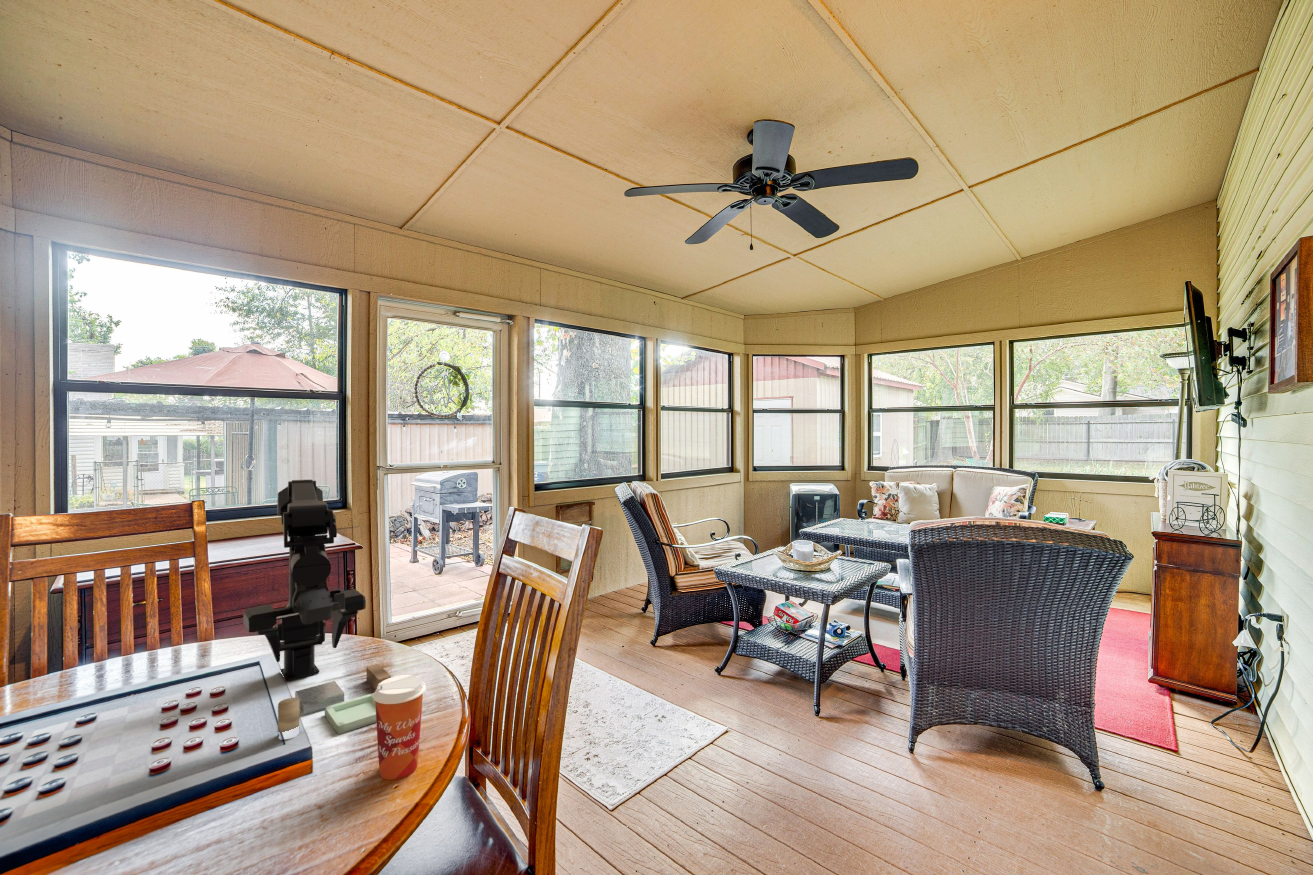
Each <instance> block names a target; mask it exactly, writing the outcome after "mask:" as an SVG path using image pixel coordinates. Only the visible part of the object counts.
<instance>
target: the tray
mask: <svg viewBox="0 0 1313 875" xmlns="http://www.w3.org/2000/svg"><path fill="white" fill-rule="evenodd" d="M374 693H375V692H373V693H367V694H365V695H362V696H359V697H356V698H352V699H351V698H350V699H349V700H344V702H341V703H338V704H334V705H331V706H327V707H325V709H324V716H325V717H326V719H327V721H328V722H329V724H330V725H331V726H332V727H333V729H334V731H335V732H336V734H337V735H341V734H344V733H347V732H350V731H352V730H356V729H359V728H362V727H365V726H369V725H371V724H375V723H376V704H375V700H374V699H373V694H374Z"/></svg>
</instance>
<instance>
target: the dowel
mask: <svg viewBox="0 0 1313 875" xmlns="http://www.w3.org/2000/svg"><path fill="white" fill-rule="evenodd" d="M277 708H278V709H277V733H278V732H280V733H282V732H285V731H289V730H291V729H294V728H296V727H298V726H299V727H300V711H301V710H300V699H299V698H295V697H289V698H285V699H282V700H280V701H279V702H278V704H277Z"/></svg>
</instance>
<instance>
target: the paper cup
mask: <svg viewBox="0 0 1313 875" xmlns="http://www.w3.org/2000/svg"><path fill="white" fill-rule="evenodd" d="M426 690H427V686H426V684H425V682H424V680H422V679H421V677H419V676H416V675H413V674H401V675H395V676H391V678H388V679H386V680H384V681H382V682H381V683H379V684H378V686H377V689H376V691H375V690H374V692H373V693H374V694H373V699H374V700H375V704H376V722H375V723H376V735H377V736H376V738H377V754H378V755H377V756H378V757H377V758H378V770H379V775H380V777H381V778H382V779H383V780H387V781H396V780H402V779H405V778H407V777H408V776H410V775H412V774H413V773H414V772H415V771H416V770H417V769H418V763H419V751H420V750H419V749H420V740H421V738H420V737H421V726H422V714H423V713H422V712H423V711H422V710H423V696H424V693H425V691H426Z"/></svg>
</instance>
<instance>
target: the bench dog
mask: <svg viewBox="0 0 1313 875" xmlns="http://www.w3.org/2000/svg"><path fill="white" fill-rule="evenodd" d="M391 677H392V676H391V675H390V673H388V671H387V670H386V669H384V667H383V666H381V664H379V663H376V664H372V665H367V666H366V677H365V678H366V682H367V684H369V685H370V686H371V687H372V689H374V692H375V691H376V689H377V686H378V684H379V683H381V682H382V681H384V680H386V679H388V678H391Z"/></svg>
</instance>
